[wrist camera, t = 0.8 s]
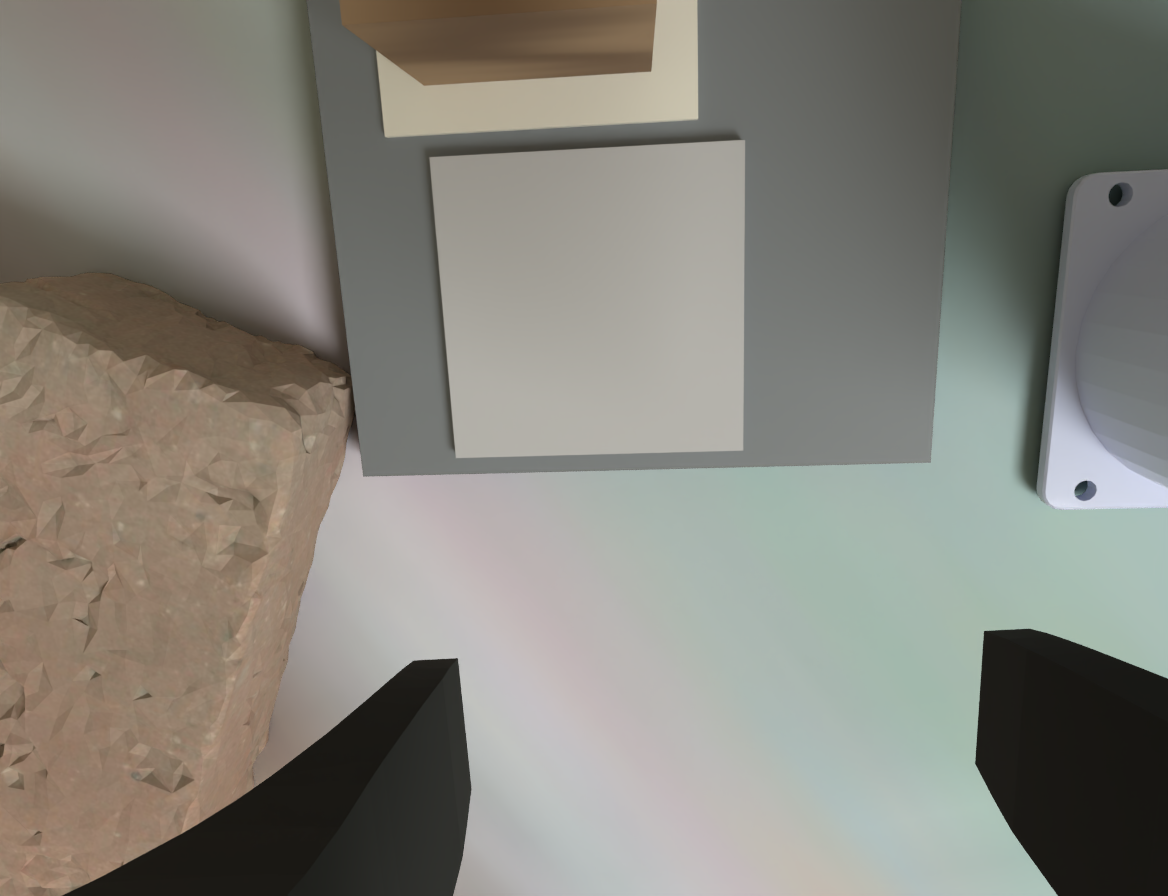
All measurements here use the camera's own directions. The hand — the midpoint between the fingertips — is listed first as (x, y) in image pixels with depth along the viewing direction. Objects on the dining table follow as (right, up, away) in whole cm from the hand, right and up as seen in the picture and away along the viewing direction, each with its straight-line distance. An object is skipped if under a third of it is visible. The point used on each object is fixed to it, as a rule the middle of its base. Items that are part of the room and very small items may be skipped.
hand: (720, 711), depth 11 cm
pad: (-2, +7, +8) cm, 11 cm away
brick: (-14, 0, +12) cm, 19 cm away
